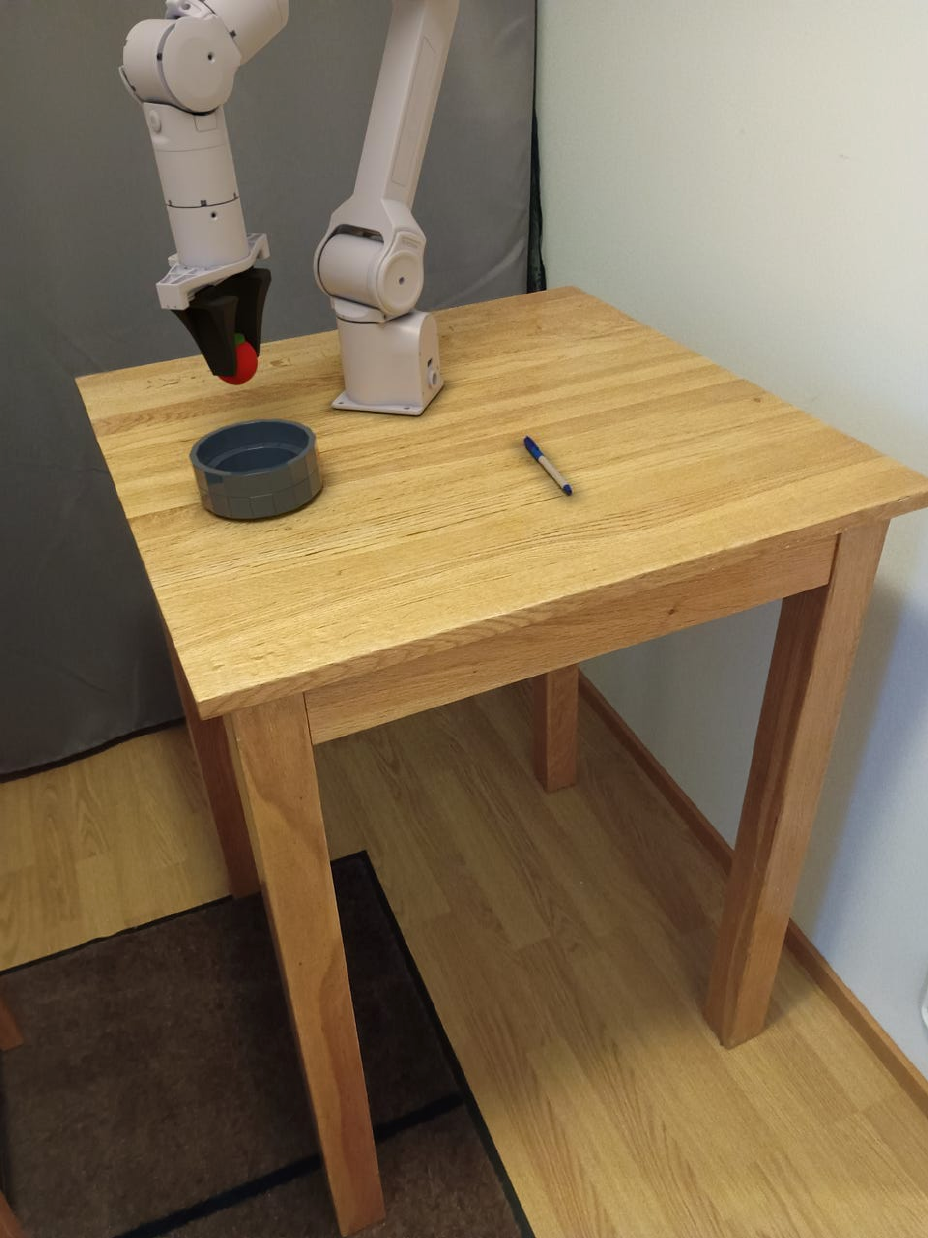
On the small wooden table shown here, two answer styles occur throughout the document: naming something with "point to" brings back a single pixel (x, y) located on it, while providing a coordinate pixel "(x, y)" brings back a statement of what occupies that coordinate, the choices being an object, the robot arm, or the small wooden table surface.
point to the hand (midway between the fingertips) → (236, 365)
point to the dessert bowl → (257, 468)
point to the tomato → (243, 362)
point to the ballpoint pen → (546, 464)
